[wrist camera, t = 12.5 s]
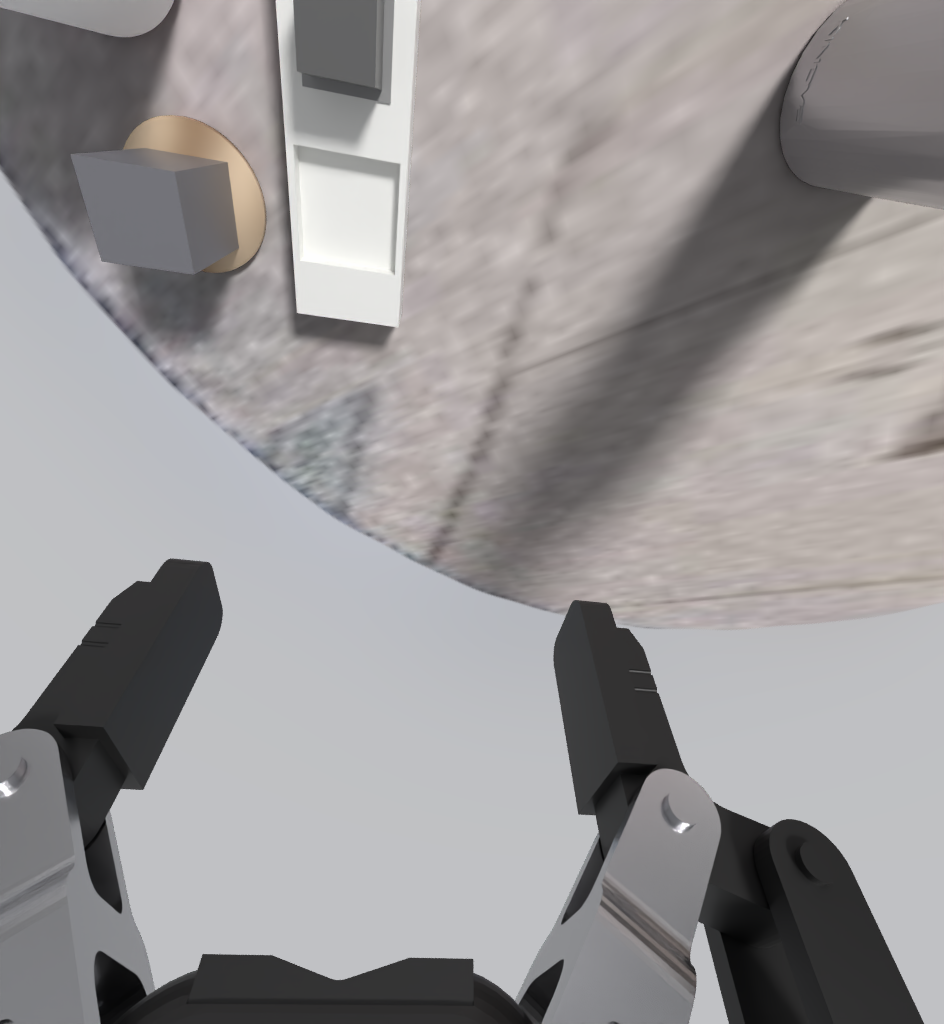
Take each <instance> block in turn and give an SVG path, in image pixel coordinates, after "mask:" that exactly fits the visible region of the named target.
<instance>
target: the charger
mask: <svg viewBox="0 0 944 1024" xmlns="http://www.w3.org/2000/svg"><path fill="white" fill-rule="evenodd" d="M70 155H71V159H72V162H73V166H74V169H75V172H76V176H77V179H78V183H79V186H80V189H81V193H82V196H83V199H84V203H85V206H86V210H87V213H88V216H89V220H90V223H91V227H92V230H93V233H94V237H95V240H96V244H97V247H98V250H99V254H100V257H101V261H103V262H110V263H116V264H123V265H130V266H137V267H144V268H151V269H158V270H165V271H171V272H178V273H185V274H192V275H195V274H196V273H198V272H200V271H201V270H203V269H205V268H206V267H208V266H210V265H211V264H213V263H215V262H216V261H218V260H220V259H221V258H223V257H225V256H226V255H228V254H230V253H232V252H233V251H235V250H237V249H238V248H239V244H238V236H237V229H236V221H235V214H234V206H233V199H232V191H231V183H230V176H229V168H228V162H223V161H218V160H212V159H206V158H200V157H195V156H189V155H183V154H177V153H172V152H166V151H160V150H154V149H149V148H137V149H125V150H113V151H101V152H89V153H77V154H70Z"/></svg>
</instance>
